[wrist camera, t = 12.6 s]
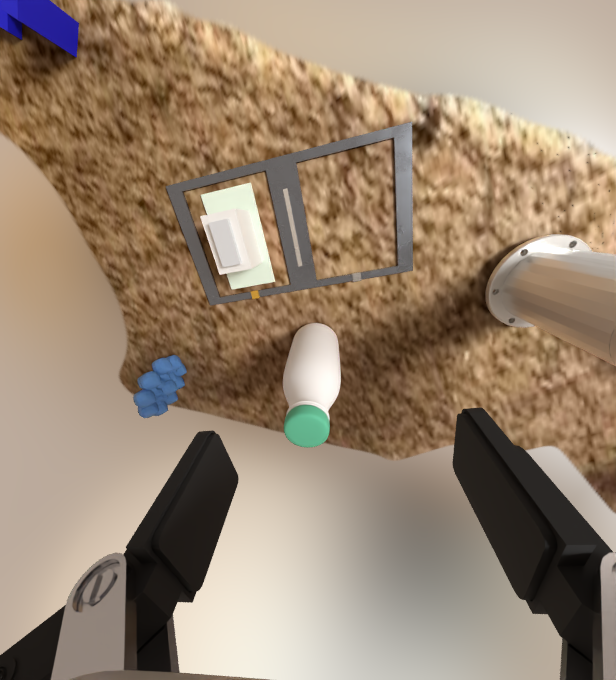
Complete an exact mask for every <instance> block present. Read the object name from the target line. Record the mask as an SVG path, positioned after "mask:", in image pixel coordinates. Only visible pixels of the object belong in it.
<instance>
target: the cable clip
mask: <svg viewBox="0 0 616 680" xmlns="http://www.w3.org/2000/svg"><path fill="white" fill-rule="evenodd" d="M22 23H23V24H25V25H26V26H28V27H29V28H31V29H32V30H34V31H36V32H37V33H39V34H40V35H42V36H43V37H45V38H47V39H48V40H50V41H51V42H53V43H54V44H56V45H58V46H59V47H61V48H62V49H64V50H65V51H67V52H68V53H70V54H72V55H73V56H75V57H77V42H78V27H79V23H78V22H76V21H75V20H74V19H72V18H71V17H70V16H69V15H67V14H66V13H65V12H64V11H62V10H61V9H60V8H59V7H57V6H56V5H55V4H54V3H52V2H51V1H50V0H0V27H1V28H3V29H4V30H6V31H8V32H9V33H11V34H13V35H14V36H16V37H18V38H19V39H21V40H22Z"/></svg>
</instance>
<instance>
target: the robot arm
mask: <svg viewBox="0 0 616 680" xmlns="http://www.w3.org/2000/svg"><path fill="white" fill-rule="evenodd" d="M485 294H486V304H487V307H488V309H489V311H490V313H491V314H492V315H493V316H494V317H495V318H496V319H498V320H499V321H501V322H502V323H504V324H507V325H509V326H514V327H525V328H526V327H534V326H536V327H538V328H540V329H542V330H544V331H546V332H548V333H550V334H552V335H554V336H556V337H558V338H560V339H562V340H564V341H566V342H568V343H570V344H572V345H574V346H576V347H578V348H580V349H582V350H584V351H586V352H588V353H590V354H592V355H594V356H596V357H598V358H600V359H602V360H604V361H606V362H608V363H610V364H612V365H614V366H616V254H608V253H598V252H592V250H591V249H590V248H589V246H588V245H587V244H586V243H585V242H583V241H582V240H581V239H579V238H576V237H573V236H569V235H545V236H540V237H537V238H534V239H531V240H529V241H527V242H525V243H523V244H521V245H519V246H518V247H516V248H515V249H513V250H512V251H511V252H509V253H508V254H507V255H506V256H505V257H504V258H503V259H502V260H501V261H500V262H499V264H498V265H497V266H496V267H495V269H494V271H493V272H492V274H491V276H490V278H489V281H488V283H487V287H486V293H485ZM453 455H454V456H453V468H454V472H455V474H456V476H457V478H458V480H459V482H460V484H461V486H462V488H463V490H464V492H465V494H466V496H467V498H468V500H469V502H470V504H471V506H472V508H473V510H474V512H475V514H476V516H477V518H478V520H479V522H480V524H481V526H482V528H483V530H484V532H485V534H486V536H487V538H488V540H489V542H490V544H491V545H492V548H493V549H494V551H495V553H496V555H497V557H498V559H499V561H500V563H501V565H502V567H503V569H504V571H505V573H506V575H507V577H508V579H509V581H510V583H511V585H512V587H513V589H514V591H515V593H516V594H517V595H518V597H519V598H520V599H522V600H526V602H527V603H528V606H529V608H530V609H531V611H532V613H533V614H548V615H549V617H550V619H551V621H552V622H553V624H554V626H555V628H556V630H557V631H558V633H559V635H560V636H561V637H562V652H561V669H560V680H616V552H613V551H612V550H611V549H610V548H609V547H608V545H607V544H606V543H605V542H604V541H603V540H602V539H601V537H600V536H599V535H598V534H597V533H596V532H595V531H594V529H593V528H592V527H591V526H590V525H589V523H588V522H587V521H586V520H585V519H584V518H583V517H582V515H581V514H580V513H579V512H578V511H577V510H576V508H575V507H574V506H573V505H572V504H571V503H570V501H569V500H568V499H567V498H566V497H565V496H564V495H563V493H562V492H561V491H560V490H559V489H558V488H557V487H556V485H555V484H554V483H553V482H552V481H551V479H550V478H549V477H548V476H547V475H546V474H545V473H544V471H543V470H542V469H541V468H540V467H539V466H538V464H537V463H536V462H535V461H534V460H533V459H532V457H531V456H530V455H529V454H528V453H527V452H526V451H525V450H524V449H523V448H521V447H520V446H516V445H513V443H512V442H511V441H510V440H509V439H508V437H507V436H506V435H505V434H504V433H503V431H502V430H501V429H500V428H499V427H498V425H497V424H496V423H495V422H494V421H493V419H492V418H491V417H490V416H489V415H488V413H487V412H486V411H485V410H484V409H483V408H470V409H463V410H462V413H461V414H458V415H457V423H456V433H455V444H454V454H453ZM237 484H238V474H237V472H236V470H235V468H234V466H233V464H232V462H231V459H230V457H229V455H228V453H227V451H226V449H225V447H224V445H223V443H222V440H221V438H220V436H219V435H218V434H216V433H215V432H214V431H203V432H198V433H197V434H196V436H195V437H194V439H193V441H192V442H191V444H190V445H189V447H188V449H187V450H186V452H185V453H184V455H183V457H182V458H181V460H180V461H179V463H178V465H177V466H176V468H175V469H174V471H173V473H172V474H171V476H170V478H169V479H168V481H167V482H166V484H165V486H164V487H163V489H162V490H161V492H160V493H159V495H158V497H157V498H156V500H155V502H154V503H153V505H152V506H151V508H150V509H149V511H148V513H147V514H146V516H145V518H144V519H143V520H142V522H141V524H140V525H139V527H138V528H137V530H136V532H135V534H134V535H133V536H132V538H131V540H130V541H129V543H128V545H127V546H126V548H127V550H126V551H125V553H124V555H122V554H121V553H113V554H109V555H107V556H105V557H103V558H102V559H100V560H99V561H97V562H96V563H95V564H94V565H92V566H91V567H90V568H89V569H88V570H87V571H86V572H85V573H84V574H83V575H82V577H81V578H80V579H79V581H78V582H77V583H76V585H75V586H74V588H73V589H72V591H71V593H70V595H69V597H68V600H67V604H66V605H65V606H64V607H62V608H61V609H60V610H58V611H57V612H56V613H55V614H53V615H52V616H51V617H50V618H48V619H47V620H46V621H44V622H43V623H42V624H40V625H39V626H38V627H37V628H35V629H34V630H33V631H31V632H30V633H29V634H27V635H26V636H25V637H24V638H22V639H21V640H20V641H18V642H17V643H16V644H14V645H13V646H12V647H11V648H9V649H8V650H7V651H5V652H4V653H3V654H1V655H0V680H267V679H254V678H242V677H229V676H215V675H203V674H190V673H179V664H178V655H177V646H176V638H175V629H174V620H173V612H174V609H175V607H176V604H177V602H193V600H194V597H195V594H196V592H197V591H198V590H200V588H201V587H202V585H203V582H204V579H205V576H206V574H207V571H208V568H209V565H210V562H211V559H212V556H213V553H214V550H215V548H216V545H217V542H218V539H219V536H220V533H221V530H222V527H223V525H224V522H225V519H226V516H227V513H228V510H229V507H230V505H231V502H232V499H233V496H234V493H235V490H236V488H237Z"/></svg>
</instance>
